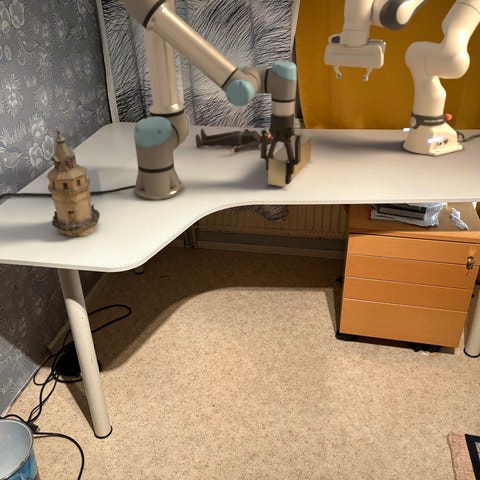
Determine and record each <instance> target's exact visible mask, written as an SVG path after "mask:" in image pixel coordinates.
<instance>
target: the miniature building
mask: <svg viewBox="0 0 480 480" xmlns="http://www.w3.org/2000/svg"><path fill="white" fill-rule="evenodd" d="M56 134H57V136H56V138H55V140H54V141H55V142H56V147H55V154H54V156H52V157H51V161H52V162H53V165H54V167H53V168H51V169H50V170H49V171H48V173H47V174H46V178H47V179H48V182H49V184H48V186H47V190H48V191H49V193H50V194H52V196H51V200H52V201H53V205H54V209H55V211H53V217H52V220H51V223H52V225H51V227H54V228H56V229H58V230H59V231H60V234H63V235H64V234H65V235H66V236H69V237H77V236H80V237H83V236H87V235H88V234H90V233H93V232H94V231H95V229H96V226H97V225H98V223H99V220H100V216H101V213H100V212H99V210H98V209H96V208H95V204H92V201H91V200H92V199H91V198H92V197H91V195H90V192H92V190H91V188H90V184H91V178H89V177H88V174H87V167H85V166H84V165H83V166H82V165H80V164H77V160H76V154H75V151H74V150H70V149H69V147H68V145H67V143H66V138H65V137H64V136H63V135H61V130H60V129H56Z"/></svg>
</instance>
